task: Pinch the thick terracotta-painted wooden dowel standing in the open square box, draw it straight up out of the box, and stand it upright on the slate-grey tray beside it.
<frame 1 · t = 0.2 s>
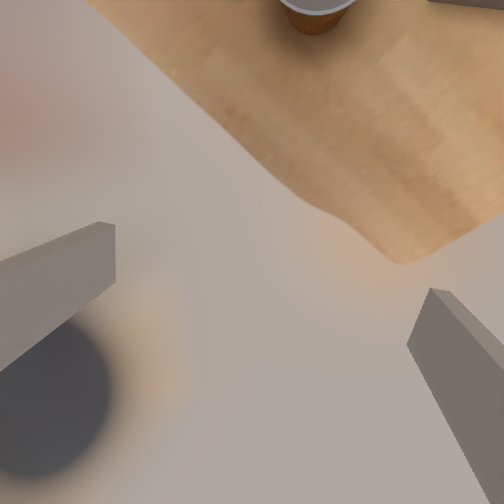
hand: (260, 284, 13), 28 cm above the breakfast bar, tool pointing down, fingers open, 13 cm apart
disposable coffee cup: (315, 0, 32), on the breakfast bar
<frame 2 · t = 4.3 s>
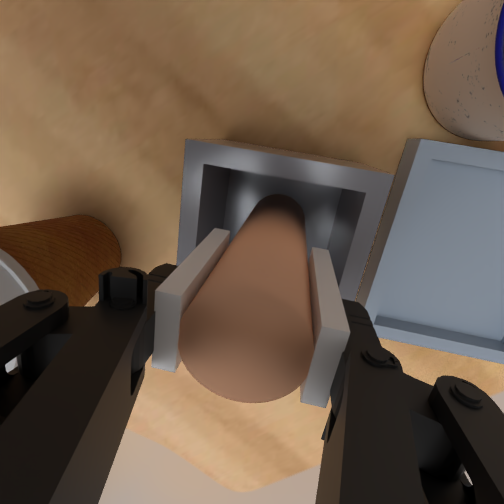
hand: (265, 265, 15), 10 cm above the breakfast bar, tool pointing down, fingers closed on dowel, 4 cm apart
disposable coffee cup: (89, 248, 27), on the breakfast bar
dowel: (277, 221, 23), point 1 cm above the breakfast bar, touching open square box, gripper
open square box: (278, 218, 24), on the breakfast bar
tray: (458, 252, 23), on the breakfast bar
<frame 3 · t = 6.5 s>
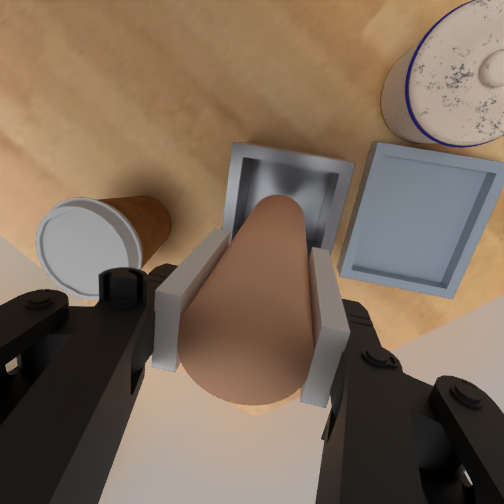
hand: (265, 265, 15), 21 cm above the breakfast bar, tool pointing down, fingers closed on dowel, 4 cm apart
disposable coffee cup: (147, 221, 38), on the breakfast bar
dowel: (277, 221, 23), point 12 cm above the breakfast bar, touching gripper
teacup with lid: (438, 80, 29), on the breakfast bar
open square box: (285, 197, 34), on the breakfast bar
tray: (409, 219, 33), on the breakfast bar
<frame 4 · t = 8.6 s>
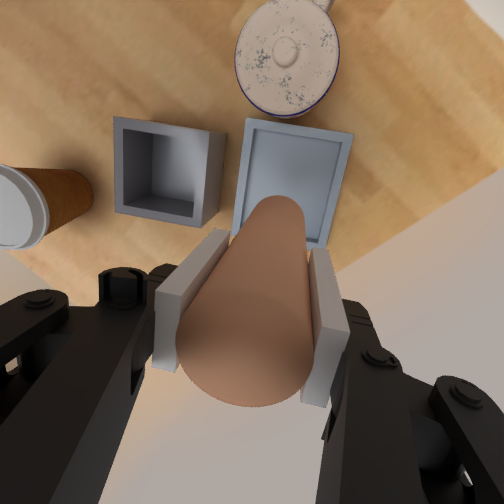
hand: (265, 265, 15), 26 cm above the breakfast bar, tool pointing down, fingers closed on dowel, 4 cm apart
disposable coffee cup: (73, 192, 43), on the breakfast bar
dowel: (277, 222, 23), point 17 cm above the breakfast bar, touching gripper
teacup with lid: (295, 65, 34), on the breakfast bar
open square box: (185, 167, 40), on the breakfast bar
tray: (287, 185, 39), on the breakfast bar
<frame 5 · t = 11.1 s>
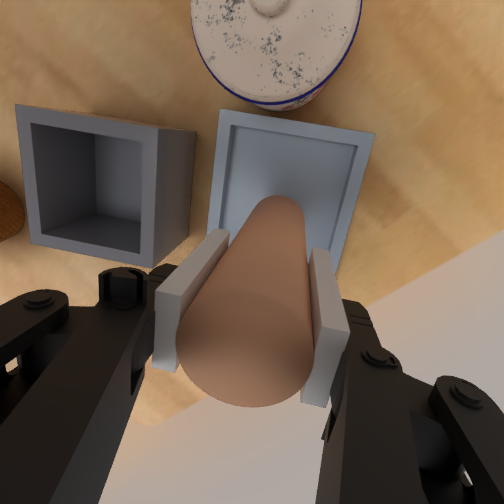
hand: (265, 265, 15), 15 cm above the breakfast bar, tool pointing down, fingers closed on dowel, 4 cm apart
dowel: (277, 222, 23), point 6 cm above the breakfast bar, touching gripper
teacup with lid: (291, 34, 24), on the breakfast bar
open square box: (141, 178, 29), on the breakfast bar
tray: (280, 204, 28), on the breakfast bar
when the fingers open (11 cm above the breakfast bar, at t = 13.2 s): dowel drops 2 cm, resting on tray.
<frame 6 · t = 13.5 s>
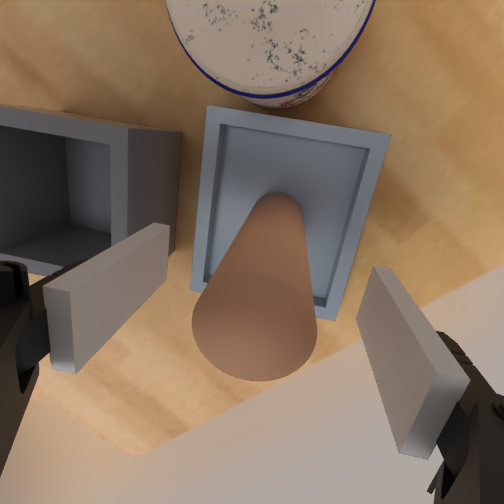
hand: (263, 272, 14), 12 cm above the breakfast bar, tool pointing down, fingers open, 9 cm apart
dowel: (276, 218, 24), point 1 cm above the breakfast bar, touching tray
teacup with lid: (292, 17, 20), on the breakfast bar
open square box: (120, 185, 26), on the breakfast bar
tray: (279, 215, 25), on the breakfast bar
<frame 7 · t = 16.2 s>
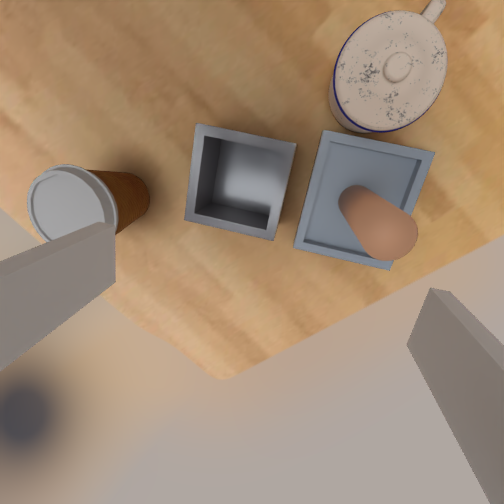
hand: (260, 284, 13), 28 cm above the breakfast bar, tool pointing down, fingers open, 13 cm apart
disposable coffee cup: (128, 195, 42), on the breakfast bar
dowel: (355, 201, 37), point 1 cm above the breakfast bar, touching tray
teacup with lid: (376, 79, 34), on the breakfast bar
open square box: (248, 177, 39), on the breakfast bar
tray: (355, 200, 38), on the breakfast bar
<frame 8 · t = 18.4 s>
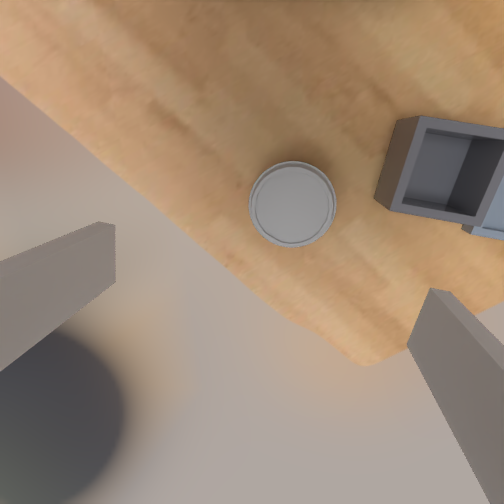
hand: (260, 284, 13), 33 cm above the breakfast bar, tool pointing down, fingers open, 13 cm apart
disposable coffee cup: (293, 190, 44), on the breakfast bar
open square box: (423, 167, 40), on the breakfast bar
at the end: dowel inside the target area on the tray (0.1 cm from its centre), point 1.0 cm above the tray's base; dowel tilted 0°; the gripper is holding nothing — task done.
